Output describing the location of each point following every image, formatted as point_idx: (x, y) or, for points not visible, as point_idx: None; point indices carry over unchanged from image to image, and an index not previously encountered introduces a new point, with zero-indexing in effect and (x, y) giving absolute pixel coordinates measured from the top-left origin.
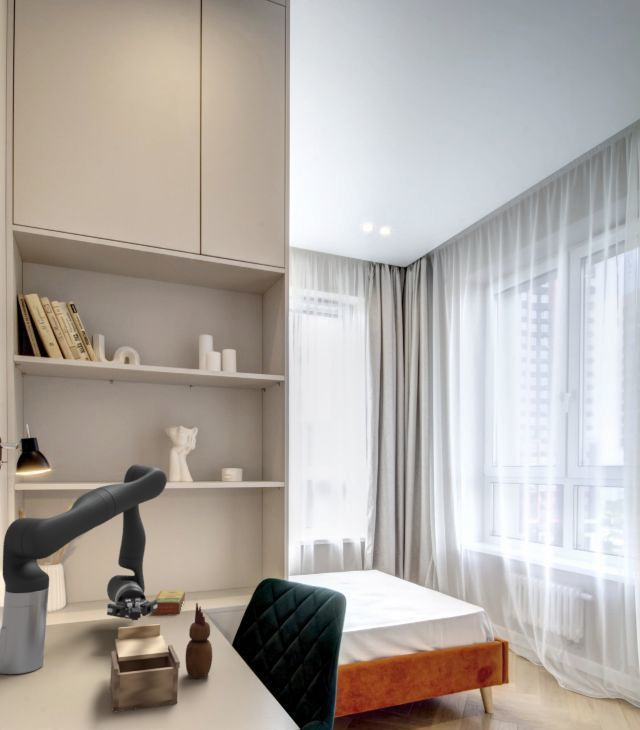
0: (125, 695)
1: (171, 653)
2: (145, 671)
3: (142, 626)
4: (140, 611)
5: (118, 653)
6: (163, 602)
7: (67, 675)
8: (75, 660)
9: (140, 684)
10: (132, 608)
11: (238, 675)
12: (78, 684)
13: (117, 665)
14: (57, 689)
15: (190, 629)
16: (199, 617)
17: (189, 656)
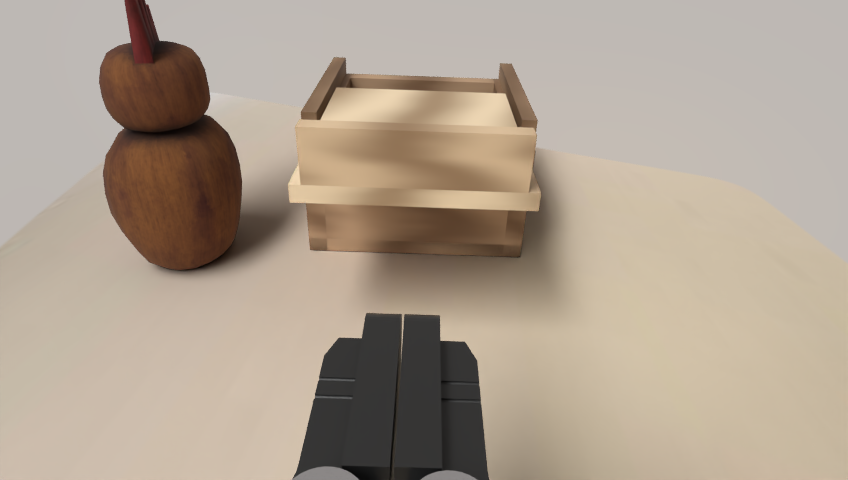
0: None
1: (331, 85)
2: (426, 77)
3: (400, 123)
4: (332, 351)
5: (508, 106)
6: None
7: (760, 410)
8: None
9: None
10: (426, 429)
11: (71, 220)
12: (651, 308)
13: (504, 71)
14: (718, 294)
15: (202, 71)
16: (148, 19)
17: (236, 155)
